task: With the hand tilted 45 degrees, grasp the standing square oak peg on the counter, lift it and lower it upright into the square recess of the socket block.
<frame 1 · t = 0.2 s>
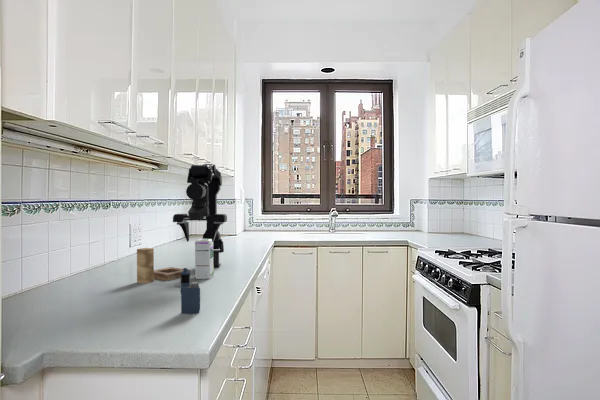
hand: (200, 241, 147), 14 cm above the counter, tool pointing down, fingers open, 9 cm apart
vaping device: (190, 313, 108), on the counter
syrup box: (204, 277, 152), on the counter
peg: (145, 281, 144), on the counter
socket: (169, 276, 154), on the counter
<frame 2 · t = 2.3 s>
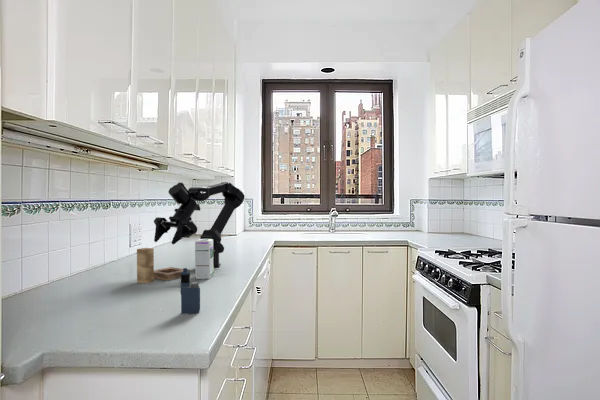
hand: (163, 242, 151), 13 cm above the counter, tool tilted 45°, fingers open, 9 cm apart
nothing on the counter moved.
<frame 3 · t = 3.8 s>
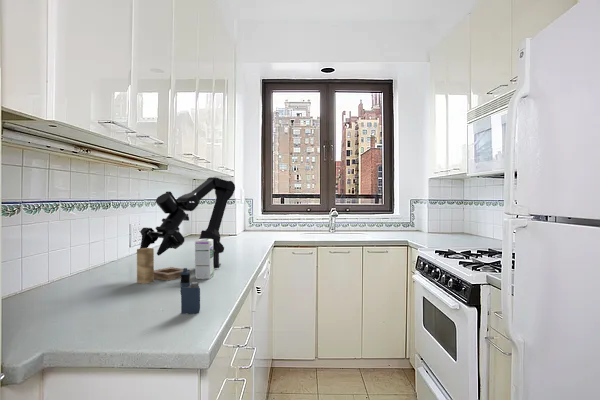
hand: (149, 253, 145), 10 cm above the counter, tool tilted 45°, fingers open, 9 cm apart
nothing on the counter moved.
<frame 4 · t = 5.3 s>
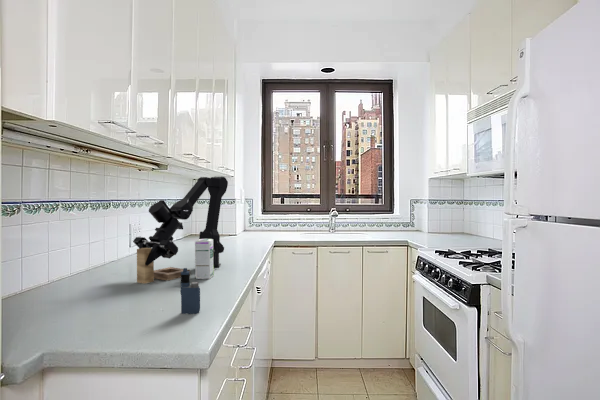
hand: (142, 264, 143), 7 cm above the counter, tool tilted 45°, fingers closed on peg, 4 cm apart
peg: (145, 281, 144), on the counter, touching gripper
everything else where it was.
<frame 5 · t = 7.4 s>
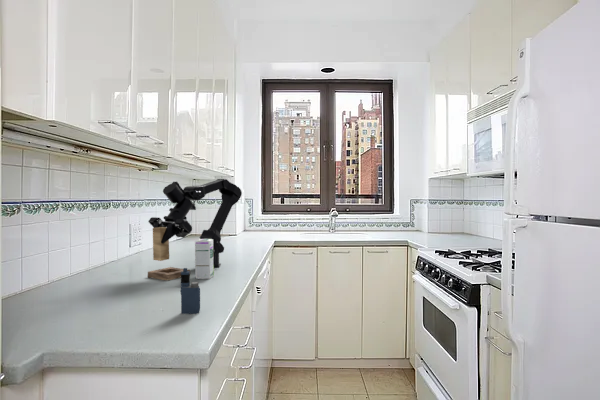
hand: (158, 242, 149), 14 cm above the counter, tool tilted 45°, fingers closed on peg, 4 cm apart
peg: (161, 259, 150), point 7 cm above the counter, touching gripper
everything else where it was.
when the fingers open (8 cm above the counter, at t = 9.4 s): peg drops 1 cm, resting on socket.
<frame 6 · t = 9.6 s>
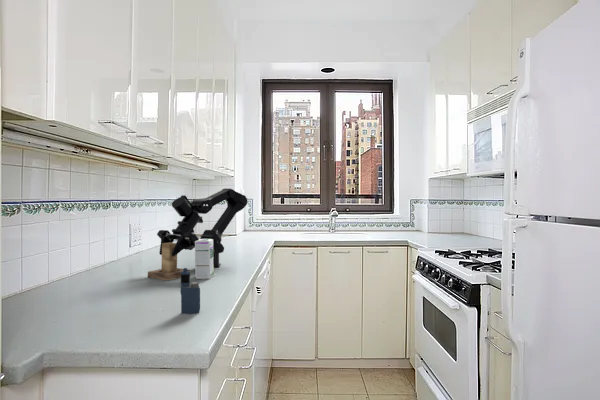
hand: (166, 255, 152), 8 cm above the counter, tool tilted 45°, fingers open, 6 cm apart
peg: (169, 274, 154), point 1 cm above the counter, touching socket
everything else where it was.
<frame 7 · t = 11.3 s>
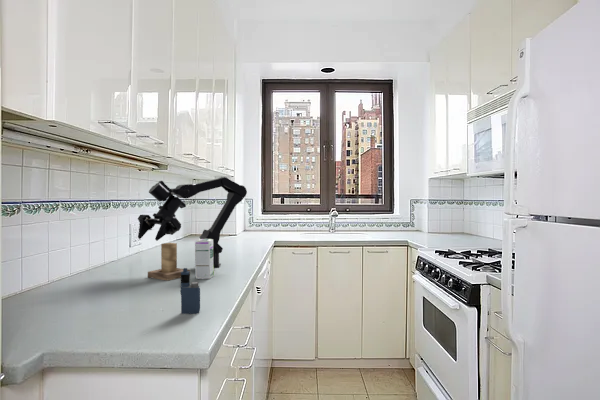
hand: (147, 239, 153), 14 cm above the counter, tool tilted 45°, fingers open, 9 cm apart
nothing on the counter moved.
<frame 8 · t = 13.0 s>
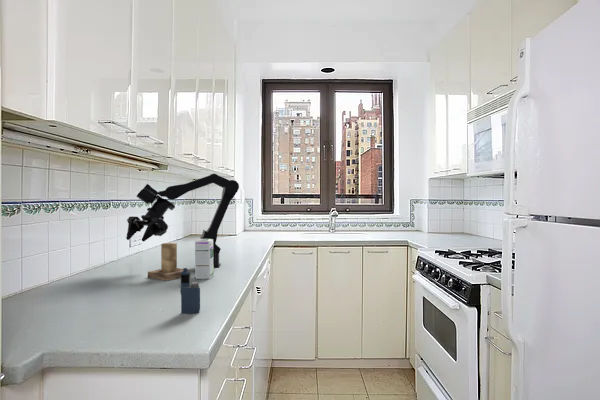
hand: (134, 240, 156), 14 cm above the counter, tool tilted 45°, fingers open, 9 cm apart
nothing on the counter moved.
at the end: peg 0.1 cm from the socket (horizontally); peg point 0.6 cm above the counter; peg tilted 0° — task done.
